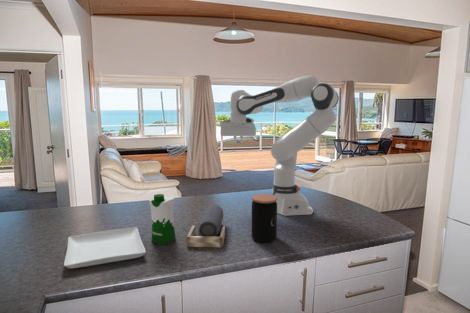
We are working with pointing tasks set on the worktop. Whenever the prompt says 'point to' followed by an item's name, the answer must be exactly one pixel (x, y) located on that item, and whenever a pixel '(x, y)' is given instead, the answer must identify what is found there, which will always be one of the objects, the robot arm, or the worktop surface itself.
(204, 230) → the bluetooth speaker
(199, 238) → the birch bay
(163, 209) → the milk carton
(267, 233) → the coffee jar
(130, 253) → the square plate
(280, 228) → the worktop surface
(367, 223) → the worktop surface
